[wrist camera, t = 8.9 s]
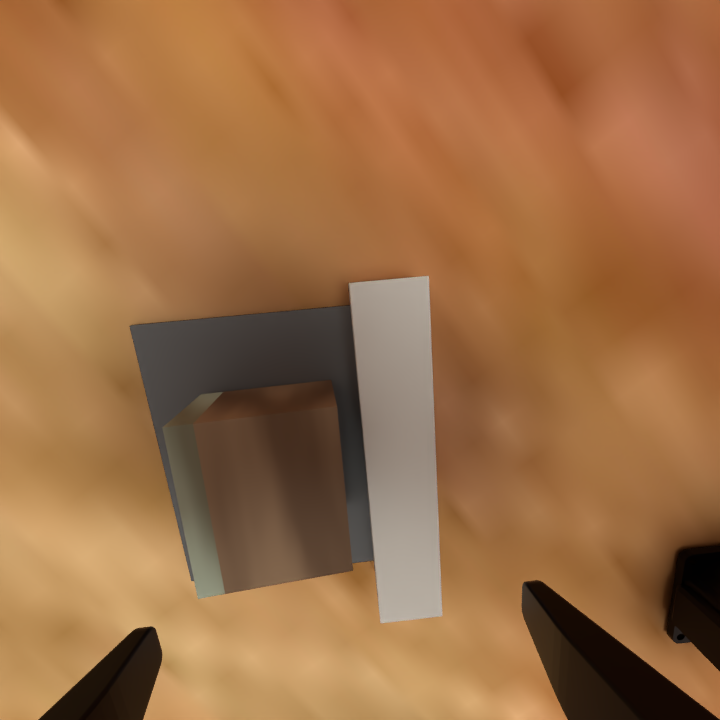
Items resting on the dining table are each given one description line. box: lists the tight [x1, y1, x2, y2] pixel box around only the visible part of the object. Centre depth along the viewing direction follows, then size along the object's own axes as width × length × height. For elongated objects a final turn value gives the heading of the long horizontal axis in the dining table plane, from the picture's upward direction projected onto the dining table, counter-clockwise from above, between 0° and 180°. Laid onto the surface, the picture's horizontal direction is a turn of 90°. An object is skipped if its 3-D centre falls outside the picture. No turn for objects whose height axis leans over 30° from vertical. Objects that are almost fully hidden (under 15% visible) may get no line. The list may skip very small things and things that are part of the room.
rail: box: [348, 276, 442, 623], centre depth 16 cm, size 3×16×3 cm, turn 5°
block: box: [162, 380, 353, 599], centre depth 14 cm, size 4×7×6 cm
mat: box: [130, 305, 374, 581], centre depth 17 cm, size 10×14×1 cm
